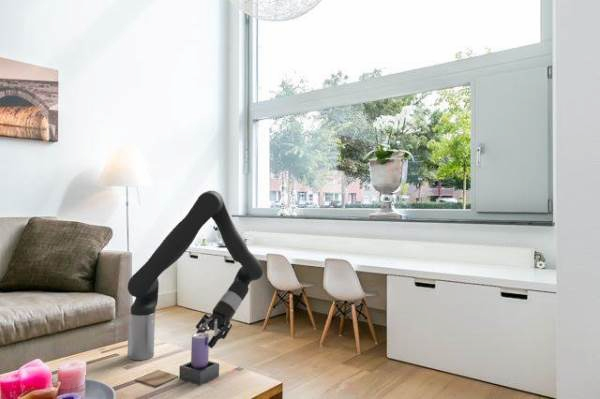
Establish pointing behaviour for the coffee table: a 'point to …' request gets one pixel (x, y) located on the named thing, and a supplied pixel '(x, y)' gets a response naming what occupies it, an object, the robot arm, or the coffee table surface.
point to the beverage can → (200, 351)
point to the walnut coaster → (157, 378)
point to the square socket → (199, 373)
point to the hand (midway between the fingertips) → (201, 343)
